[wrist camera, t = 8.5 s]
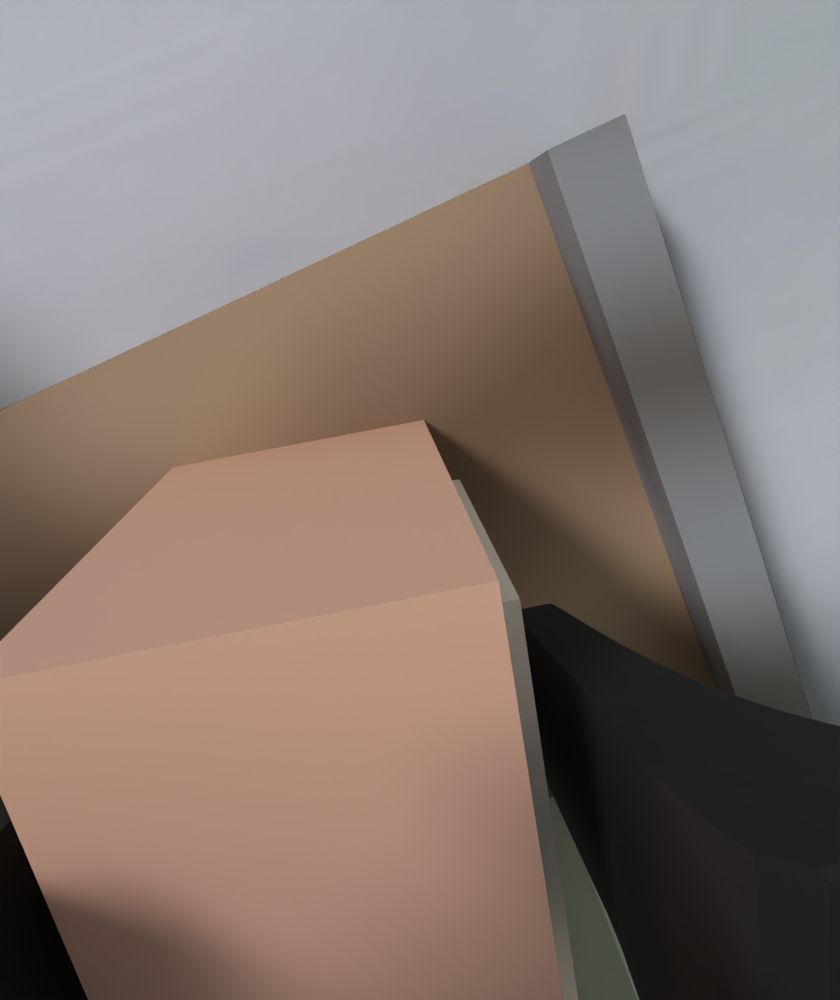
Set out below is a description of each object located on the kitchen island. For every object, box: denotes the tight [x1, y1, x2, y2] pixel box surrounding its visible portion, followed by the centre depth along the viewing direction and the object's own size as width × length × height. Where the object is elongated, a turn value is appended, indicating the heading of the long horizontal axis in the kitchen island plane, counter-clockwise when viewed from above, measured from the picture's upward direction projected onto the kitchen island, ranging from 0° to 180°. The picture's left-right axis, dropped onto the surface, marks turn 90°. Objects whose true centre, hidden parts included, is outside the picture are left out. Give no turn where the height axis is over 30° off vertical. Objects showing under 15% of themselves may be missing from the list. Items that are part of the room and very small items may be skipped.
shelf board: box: [0, 114, 812, 798], centre depth 15 cm, size 20×18×2 cm
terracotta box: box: [0, 420, 578, 1000], centre depth 10 cm, size 5×7×7 cm
